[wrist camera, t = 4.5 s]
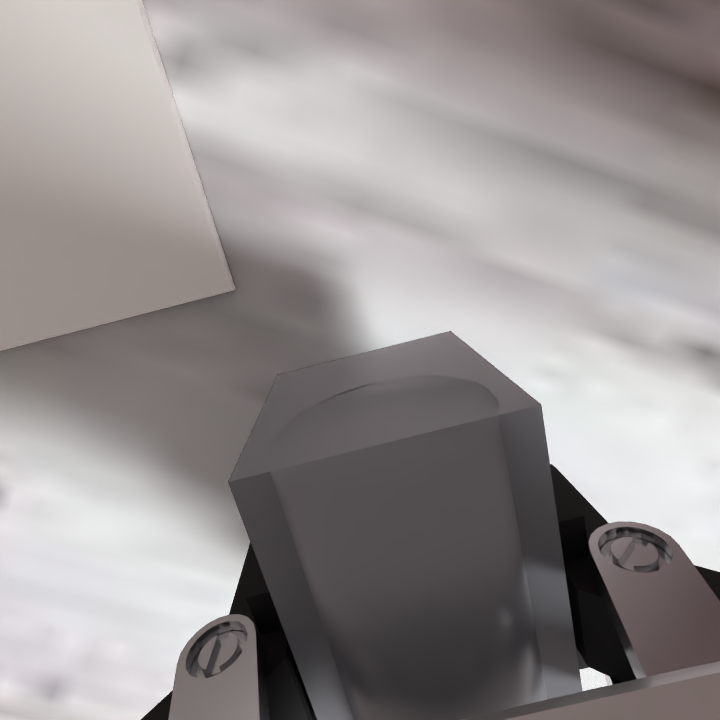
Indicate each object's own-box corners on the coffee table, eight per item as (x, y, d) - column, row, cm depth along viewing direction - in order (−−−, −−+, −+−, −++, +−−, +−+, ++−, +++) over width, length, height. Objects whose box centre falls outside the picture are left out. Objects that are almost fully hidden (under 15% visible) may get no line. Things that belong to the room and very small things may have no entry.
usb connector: (450, 331, 11) (580, 436, 5) (512, 646, 13) (642, 952, 8) (277, 374, 11) (206, 528, 5) (373, 679, 14) (399, 1006, 8)
